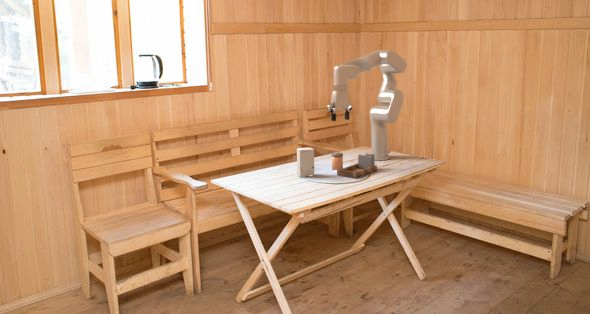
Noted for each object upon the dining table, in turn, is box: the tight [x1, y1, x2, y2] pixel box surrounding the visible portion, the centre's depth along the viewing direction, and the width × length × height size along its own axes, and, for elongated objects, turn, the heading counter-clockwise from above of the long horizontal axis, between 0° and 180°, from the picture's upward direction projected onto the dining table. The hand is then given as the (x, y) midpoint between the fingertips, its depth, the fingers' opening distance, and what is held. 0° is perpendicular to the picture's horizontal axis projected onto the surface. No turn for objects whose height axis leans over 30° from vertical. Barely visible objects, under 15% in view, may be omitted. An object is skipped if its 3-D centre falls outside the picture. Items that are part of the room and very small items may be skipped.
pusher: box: [357, 152, 376, 168], centre depth 308 cm, size 6×8×7 cm
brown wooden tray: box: [336, 162, 378, 179], centre depth 302 cm, size 20×12×3 cm, turn 138°
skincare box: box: [296, 147, 315, 178], centre depth 300 cm, size 8×6×15 cm
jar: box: [331, 152, 344, 171], centre depth 311 cm, size 6×6×9 cm
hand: (340, 120), depth 307 cm, fingers open, 9 cm apart
